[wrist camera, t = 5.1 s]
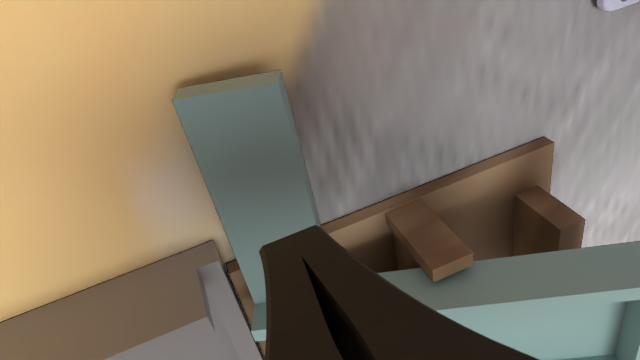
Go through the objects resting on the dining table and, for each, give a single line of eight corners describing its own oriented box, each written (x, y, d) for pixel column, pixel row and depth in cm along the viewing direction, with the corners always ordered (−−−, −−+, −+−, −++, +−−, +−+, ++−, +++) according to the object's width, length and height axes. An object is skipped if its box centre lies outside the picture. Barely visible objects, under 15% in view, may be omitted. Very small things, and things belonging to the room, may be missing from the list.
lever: (706, -7, 12) (763, 19, 11) (618, 344, 21) (642, 389, 19) (179, 87, 14) (159, 122, 13) (292, 377, 22) (289, 420, 21)
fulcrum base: (544, 136, 22) (625, 184, 18) (534, 264, 26) (597, 321, 23) (225, 263, 19) (251, 347, 16) (276, 381, 24) (304, 465, 20)
